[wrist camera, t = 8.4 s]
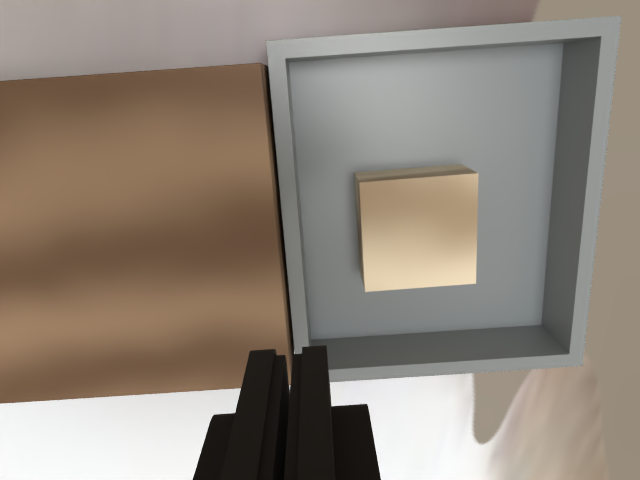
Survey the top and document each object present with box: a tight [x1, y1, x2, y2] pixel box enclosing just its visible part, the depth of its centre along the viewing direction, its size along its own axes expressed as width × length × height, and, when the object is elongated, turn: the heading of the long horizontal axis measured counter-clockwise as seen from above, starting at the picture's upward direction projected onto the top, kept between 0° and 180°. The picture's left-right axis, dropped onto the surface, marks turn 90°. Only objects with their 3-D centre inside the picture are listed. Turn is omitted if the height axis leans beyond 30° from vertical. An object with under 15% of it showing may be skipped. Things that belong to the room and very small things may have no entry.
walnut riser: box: [0, 63, 294, 403], centre depth 26 cm, size 16×16×6 cm
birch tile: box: [354, 164, 479, 292], centre depth 27 cm, size 6×6×3 cm
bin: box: [266, 16, 621, 382], centre depth 27 cm, size 18×16×4 cm
